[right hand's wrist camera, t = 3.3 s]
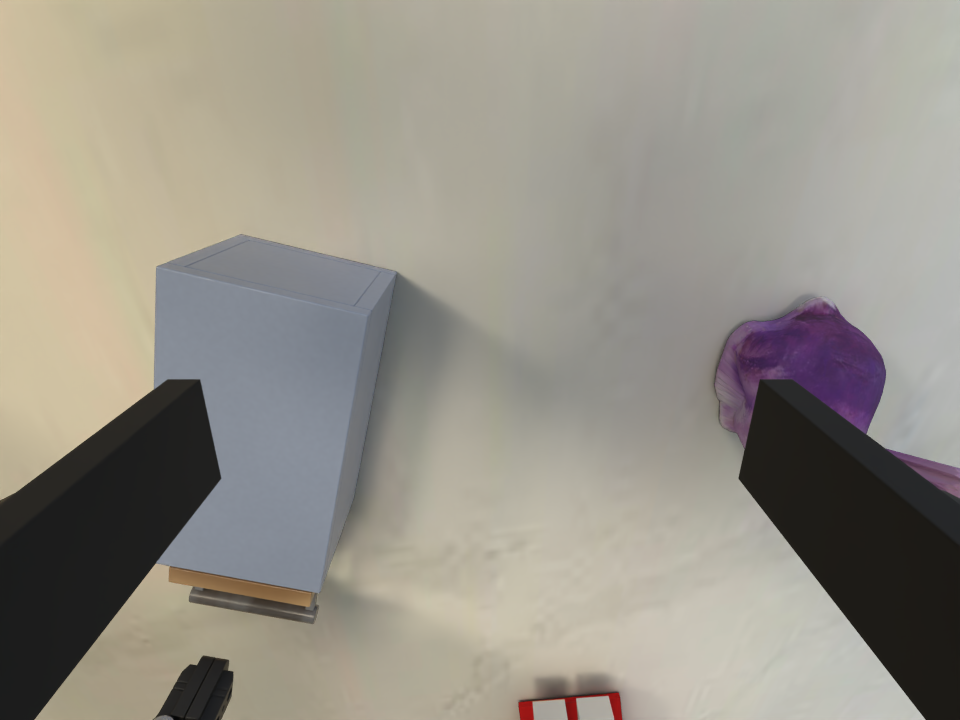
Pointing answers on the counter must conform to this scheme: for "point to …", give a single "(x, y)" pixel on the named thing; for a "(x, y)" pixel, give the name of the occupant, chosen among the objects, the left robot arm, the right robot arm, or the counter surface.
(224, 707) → the left robot arm
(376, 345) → the cabinet
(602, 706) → the toy
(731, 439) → the counter surface
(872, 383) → the figurine
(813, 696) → the counter surface
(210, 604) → the drawer
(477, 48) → the counter surface
